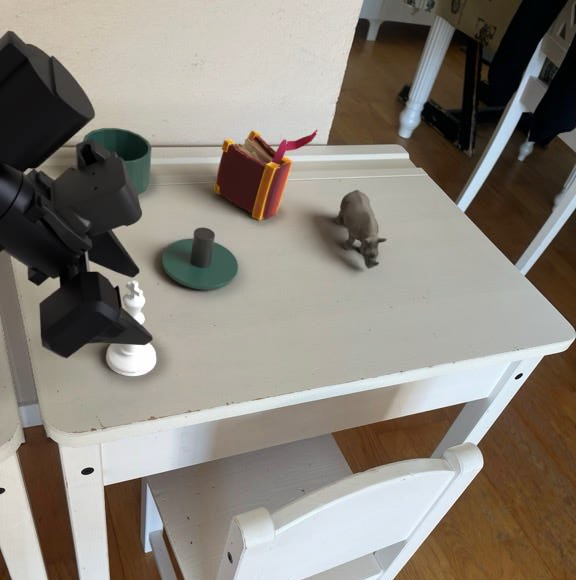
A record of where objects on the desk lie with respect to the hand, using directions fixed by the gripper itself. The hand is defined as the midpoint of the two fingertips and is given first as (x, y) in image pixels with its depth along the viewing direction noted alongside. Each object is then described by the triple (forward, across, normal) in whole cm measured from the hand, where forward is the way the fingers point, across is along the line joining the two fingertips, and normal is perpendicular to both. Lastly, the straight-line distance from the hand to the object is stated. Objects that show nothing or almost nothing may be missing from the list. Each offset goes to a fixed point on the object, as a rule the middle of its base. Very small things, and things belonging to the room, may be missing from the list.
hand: (142, 305), depth 58 cm
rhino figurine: (+27, +18, -17) cm, 37 cm away
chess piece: (+5, 0, +6) cm, 7 cm away
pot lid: (+11, +14, -2) cm, 18 cm away
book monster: (+20, +29, -9) cm, 37 cm away
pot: (+6, +33, +4) cm, 33 cm away
